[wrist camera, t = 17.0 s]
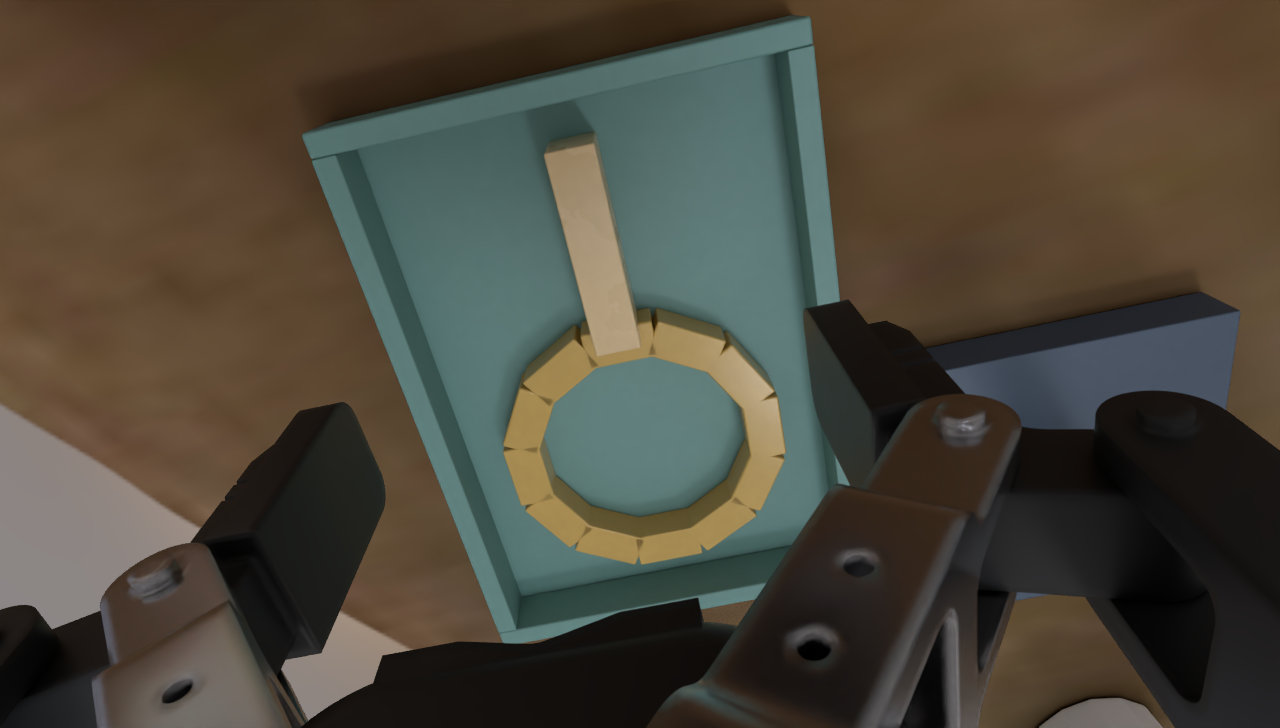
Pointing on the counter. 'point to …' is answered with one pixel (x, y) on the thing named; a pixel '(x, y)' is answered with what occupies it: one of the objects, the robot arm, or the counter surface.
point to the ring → (619, 339)
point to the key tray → (551, 304)
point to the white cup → (1103, 715)
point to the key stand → (1099, 361)
